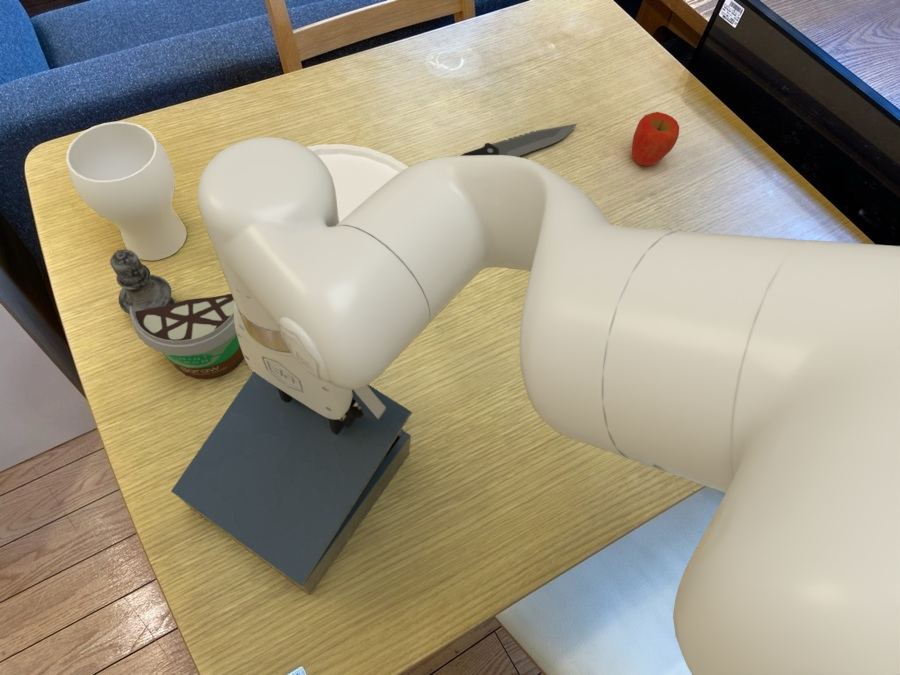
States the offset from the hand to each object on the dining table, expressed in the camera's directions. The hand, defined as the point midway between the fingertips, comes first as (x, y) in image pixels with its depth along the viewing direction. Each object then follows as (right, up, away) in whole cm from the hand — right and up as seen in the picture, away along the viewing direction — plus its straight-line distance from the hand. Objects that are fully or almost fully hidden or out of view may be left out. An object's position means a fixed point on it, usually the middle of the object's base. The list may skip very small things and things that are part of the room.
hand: (319, 404), depth 60 cm
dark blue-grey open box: (-3, -9, +8) cm, 13 cm away
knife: (+22, +35, +36) cm, 54 cm away
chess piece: (-24, +9, +17) cm, 31 cm away
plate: (-3, +21, +26) cm, 33 cm away
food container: (-16, +3, +14) cm, 21 cm away
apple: (+43, +34, +38) cm, 66 cm away
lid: (-3, -5, +1) cm, 5 cm away
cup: (-26, +19, +23) cm, 40 cm away
